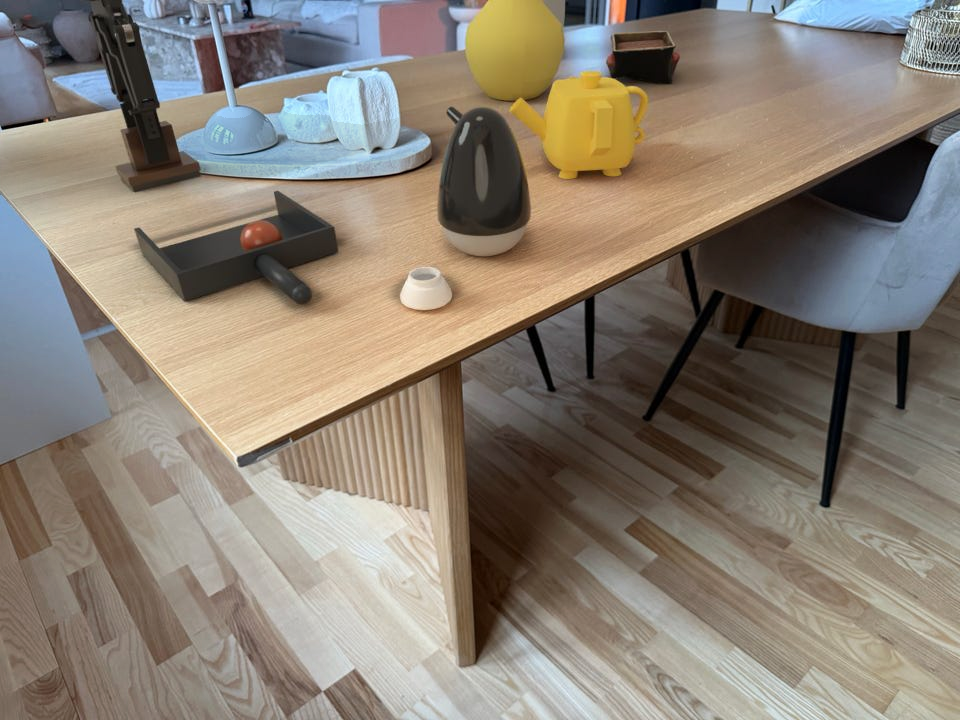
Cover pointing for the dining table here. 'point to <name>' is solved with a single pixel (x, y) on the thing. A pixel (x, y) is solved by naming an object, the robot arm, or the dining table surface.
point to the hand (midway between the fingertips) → (152, 155)
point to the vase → (514, 48)
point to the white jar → (425, 289)
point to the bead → (259, 235)
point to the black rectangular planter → (643, 56)
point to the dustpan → (244, 255)
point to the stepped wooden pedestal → (157, 174)
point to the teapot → (587, 124)
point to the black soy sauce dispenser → (483, 184)
